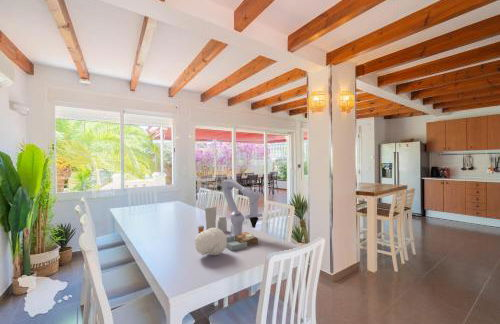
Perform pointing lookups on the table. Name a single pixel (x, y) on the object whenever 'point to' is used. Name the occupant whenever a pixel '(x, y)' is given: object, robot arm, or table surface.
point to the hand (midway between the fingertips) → (253, 227)
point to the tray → (234, 244)
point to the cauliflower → (211, 241)
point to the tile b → (249, 236)
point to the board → (246, 240)
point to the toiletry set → (213, 220)
